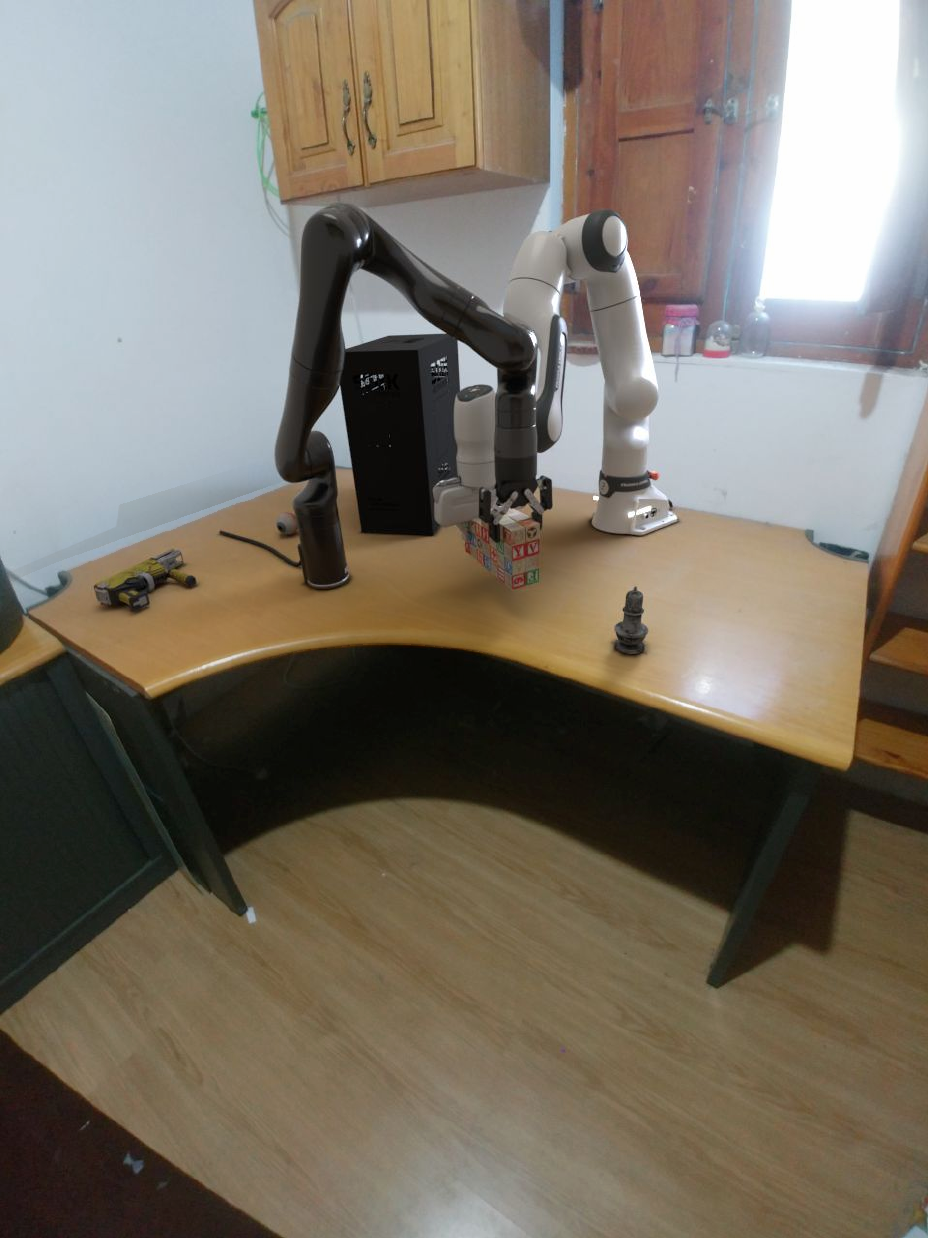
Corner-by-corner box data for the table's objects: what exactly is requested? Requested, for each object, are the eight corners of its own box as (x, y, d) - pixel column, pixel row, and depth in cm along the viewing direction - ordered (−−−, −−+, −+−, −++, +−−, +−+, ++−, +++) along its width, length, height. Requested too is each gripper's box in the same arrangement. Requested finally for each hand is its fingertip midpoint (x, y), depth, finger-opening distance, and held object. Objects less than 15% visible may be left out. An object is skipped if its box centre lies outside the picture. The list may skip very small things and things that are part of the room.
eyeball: (273, 537, 164) (268, 516, 161) (287, 528, 169) (282, 508, 166) (291, 539, 161) (286, 518, 158) (305, 530, 166) (301, 510, 163)
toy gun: (219, 557, 146) (169, 546, 150) (142, 598, 126) (87, 585, 129) (222, 574, 148) (172, 563, 152) (147, 618, 128) (92, 604, 132)
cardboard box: (433, 535, 159) (417, 349, 136) (361, 532, 163) (335, 352, 141) (465, 489, 190) (457, 332, 168) (404, 488, 195) (388, 335, 172)
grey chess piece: (647, 656, 105) (654, 595, 99) (612, 653, 107) (618, 593, 101) (645, 638, 110) (652, 579, 104) (612, 636, 111) (617, 578, 105)
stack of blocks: (464, 552, 132) (460, 498, 126) (489, 545, 134) (486, 492, 128) (512, 590, 115) (510, 529, 109) (540, 582, 117) (540, 522, 111)
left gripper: (489, 462, 100) (491, 551, 108) (562, 448, 105) (559, 535, 113) (469, 452, 106) (473, 538, 114) (539, 439, 111) (538, 523, 119)
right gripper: (438, 486, 115) (444, 552, 122) (530, 466, 122) (531, 530, 129) (425, 478, 120) (432, 542, 127) (514, 459, 127) (516, 521, 134)
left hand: (516, 536), depth 113 cm, fingers open, 8 cm apart
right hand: (483, 536), depth 128 cm, fingers closed on stack of blocks, 6 cm apart
